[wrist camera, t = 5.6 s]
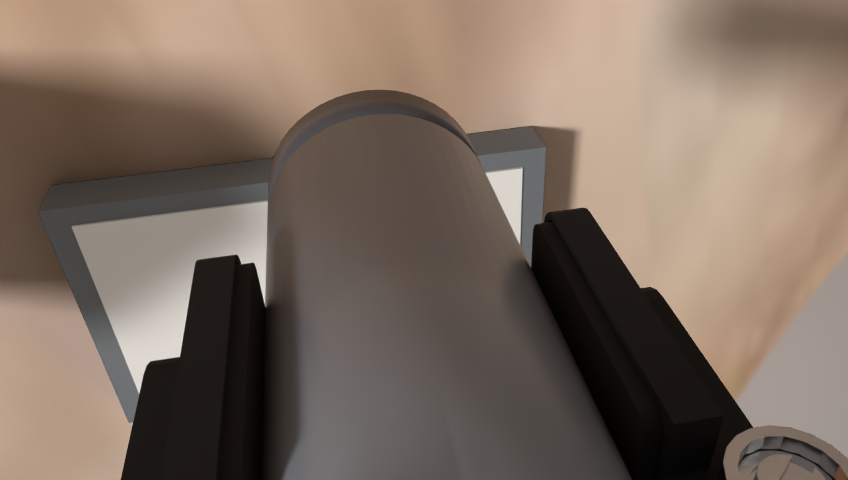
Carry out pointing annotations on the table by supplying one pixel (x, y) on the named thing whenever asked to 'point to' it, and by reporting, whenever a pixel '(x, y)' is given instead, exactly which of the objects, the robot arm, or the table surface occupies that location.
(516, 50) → the table surface
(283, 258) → the marker
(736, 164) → the table surface
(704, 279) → the table surface
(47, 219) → the drawing board
